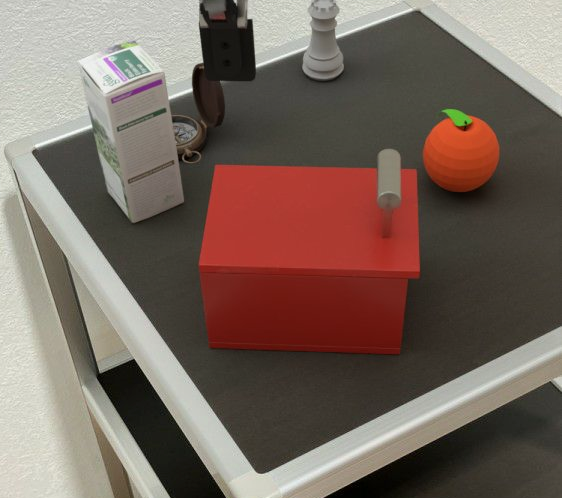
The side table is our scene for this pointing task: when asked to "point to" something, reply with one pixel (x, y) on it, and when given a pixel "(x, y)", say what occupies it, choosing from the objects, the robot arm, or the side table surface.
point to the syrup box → (133, 129)
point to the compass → (209, 108)
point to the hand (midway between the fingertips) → (238, 34)
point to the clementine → (460, 152)
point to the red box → (304, 312)
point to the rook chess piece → (323, 42)
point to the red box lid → (314, 220)
